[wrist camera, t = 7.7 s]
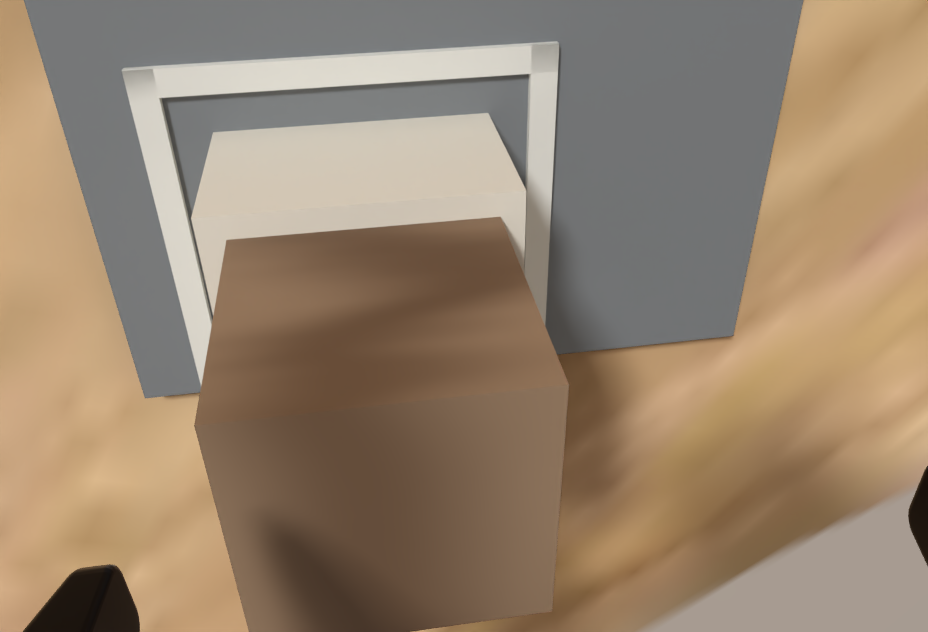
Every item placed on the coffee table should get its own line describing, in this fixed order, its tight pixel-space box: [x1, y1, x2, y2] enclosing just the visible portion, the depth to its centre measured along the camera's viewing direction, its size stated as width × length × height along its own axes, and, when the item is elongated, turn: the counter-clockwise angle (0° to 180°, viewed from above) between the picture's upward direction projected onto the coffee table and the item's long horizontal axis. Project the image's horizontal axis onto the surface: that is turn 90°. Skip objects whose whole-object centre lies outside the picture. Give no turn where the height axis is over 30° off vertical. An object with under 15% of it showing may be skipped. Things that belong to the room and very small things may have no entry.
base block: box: [191, 113, 526, 315], centre depth 18 cm, size 6×6×4 cm
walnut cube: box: [194, 217, 569, 632], centre depth 14 cm, size 5×5×5 cm
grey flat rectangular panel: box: [24, 0, 803, 398], centre depth 19 cm, size 16×12×1 cm
